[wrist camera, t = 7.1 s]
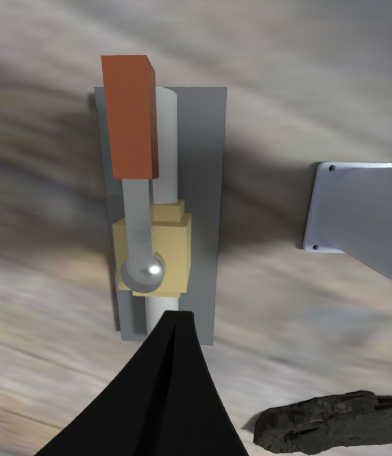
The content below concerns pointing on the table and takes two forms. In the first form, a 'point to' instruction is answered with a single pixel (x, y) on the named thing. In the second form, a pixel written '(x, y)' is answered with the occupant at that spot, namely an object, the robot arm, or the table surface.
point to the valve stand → (174, 209)
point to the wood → (326, 424)
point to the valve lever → (135, 162)
